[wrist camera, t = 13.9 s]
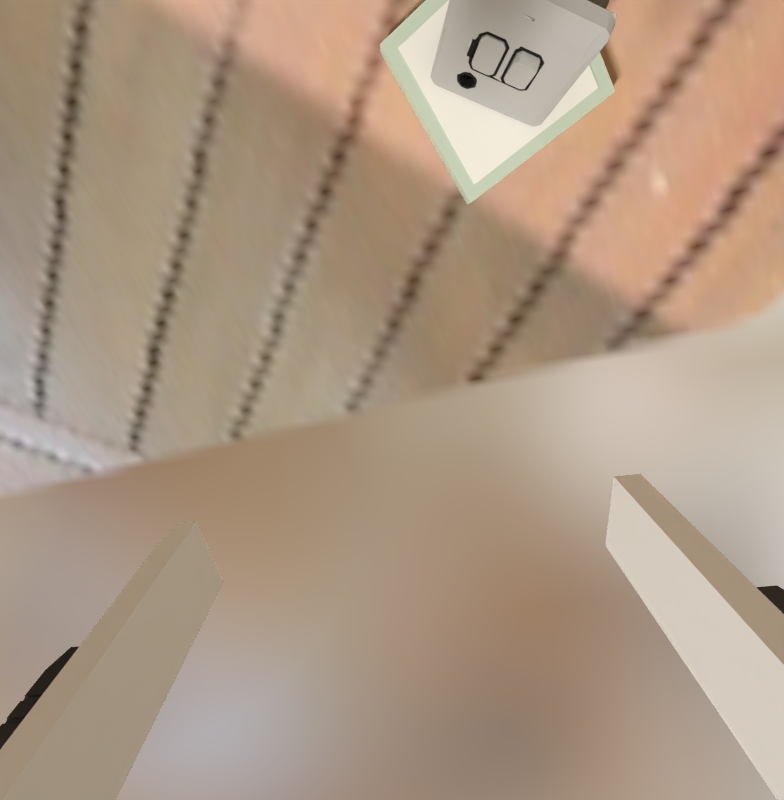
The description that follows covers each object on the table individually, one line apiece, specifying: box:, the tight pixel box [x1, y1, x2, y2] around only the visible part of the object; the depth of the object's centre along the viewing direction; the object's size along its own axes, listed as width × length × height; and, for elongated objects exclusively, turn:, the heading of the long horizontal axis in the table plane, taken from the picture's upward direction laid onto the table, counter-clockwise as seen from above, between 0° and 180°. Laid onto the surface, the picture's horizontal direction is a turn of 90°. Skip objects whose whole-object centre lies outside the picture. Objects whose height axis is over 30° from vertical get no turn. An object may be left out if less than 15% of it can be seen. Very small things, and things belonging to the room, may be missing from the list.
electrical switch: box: [430, 0, 616, 127], centre depth 24 cm, size 9×5×9 cm, turn 71°
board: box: [380, 0, 615, 204], centre depth 29 cm, size 13×13×2 cm
